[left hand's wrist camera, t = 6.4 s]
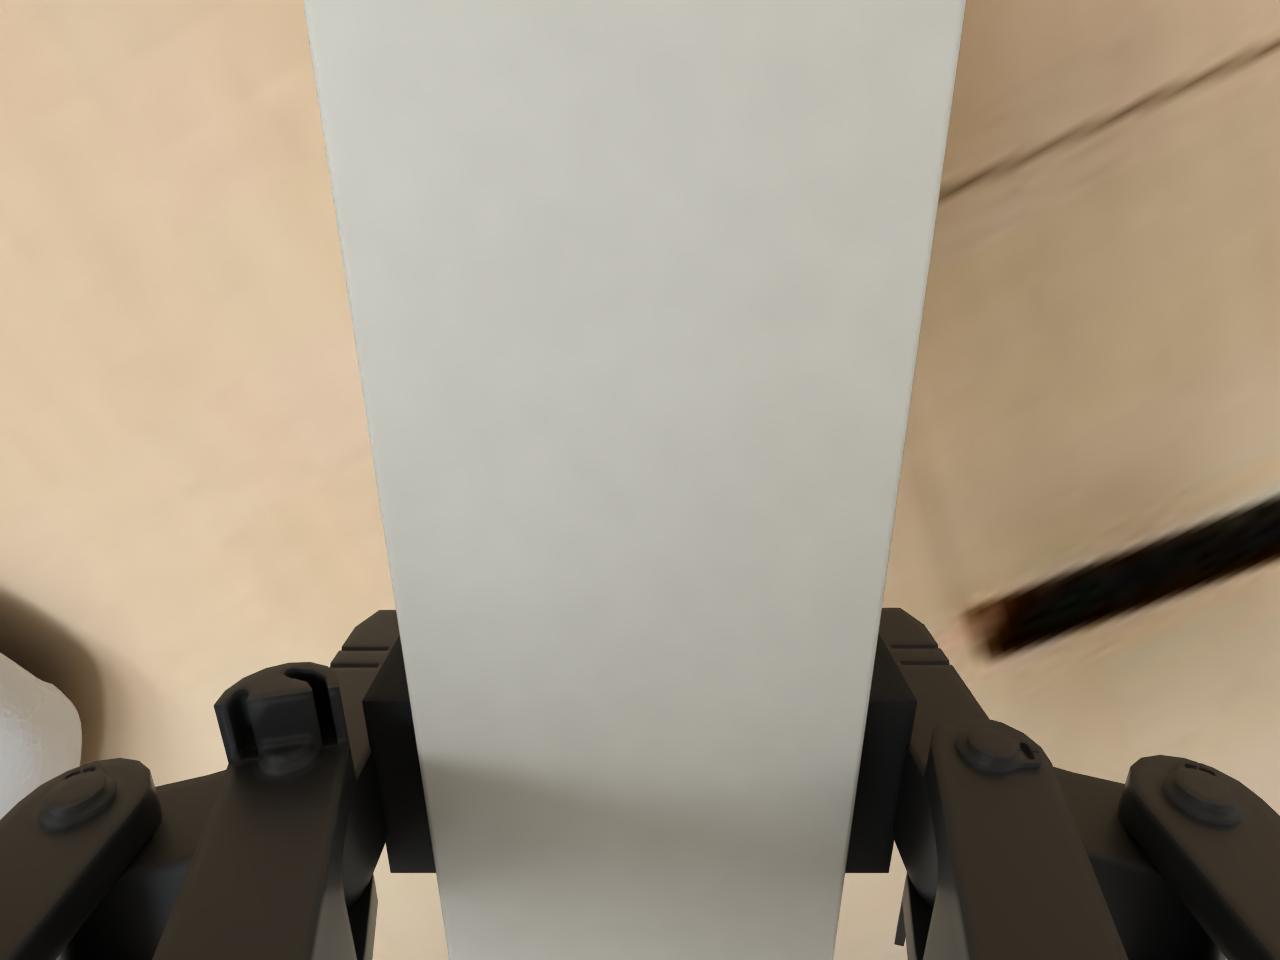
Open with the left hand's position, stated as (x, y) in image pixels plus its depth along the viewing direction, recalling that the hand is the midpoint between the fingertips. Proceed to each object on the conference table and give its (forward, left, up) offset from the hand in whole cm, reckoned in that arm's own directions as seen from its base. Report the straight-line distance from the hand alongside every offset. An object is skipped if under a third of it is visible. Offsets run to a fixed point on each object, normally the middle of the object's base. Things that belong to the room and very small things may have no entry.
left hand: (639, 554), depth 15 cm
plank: (+27, +6, -1) cm, 28 cm away
